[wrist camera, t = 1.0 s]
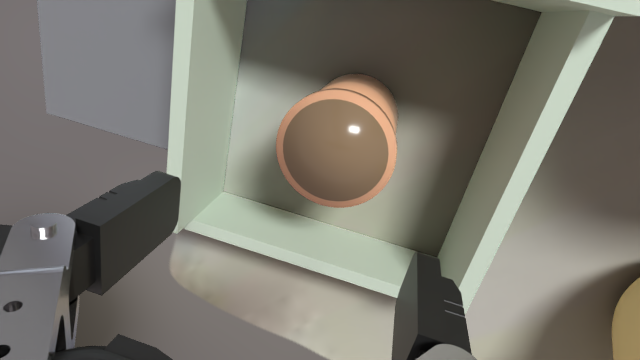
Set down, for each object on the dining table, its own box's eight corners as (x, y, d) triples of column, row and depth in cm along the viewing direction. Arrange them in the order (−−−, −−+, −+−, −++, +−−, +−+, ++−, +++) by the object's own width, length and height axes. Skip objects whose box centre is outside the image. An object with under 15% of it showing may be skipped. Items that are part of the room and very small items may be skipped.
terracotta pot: (321, 60, 27) (287, 76, 19) (413, 84, 26) (413, 110, 19) (303, 146, 29) (267, 188, 22) (386, 170, 29) (376, 222, 21)
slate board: (50, -53, 28) (32, -57, 26) (206, -15, 26) (195, -16, 25) (61, 109, 33) (46, 113, 31) (192, 148, 32) (182, 154, 30)
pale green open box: (241, -77, 25) (156, -122, 16) (567, -3, 22) (654, -13, 14) (211, 198, 33) (144, 257, 25) (445, 271, 31) (456, 363, 23)
